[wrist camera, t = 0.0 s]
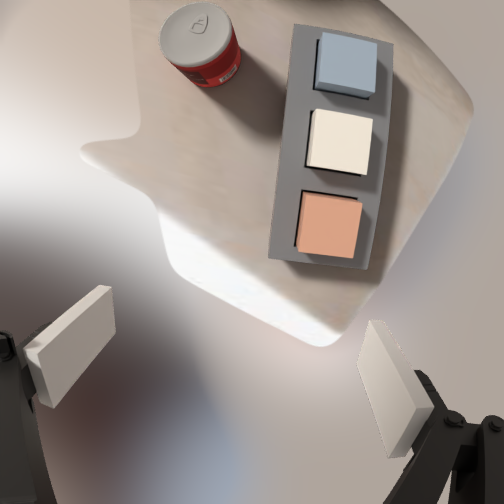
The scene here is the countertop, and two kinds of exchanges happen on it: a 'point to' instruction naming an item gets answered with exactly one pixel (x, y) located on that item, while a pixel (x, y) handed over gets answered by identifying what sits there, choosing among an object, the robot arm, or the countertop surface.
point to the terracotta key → (327, 224)
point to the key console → (321, 179)
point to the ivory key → (339, 141)
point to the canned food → (201, 43)
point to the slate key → (345, 66)
